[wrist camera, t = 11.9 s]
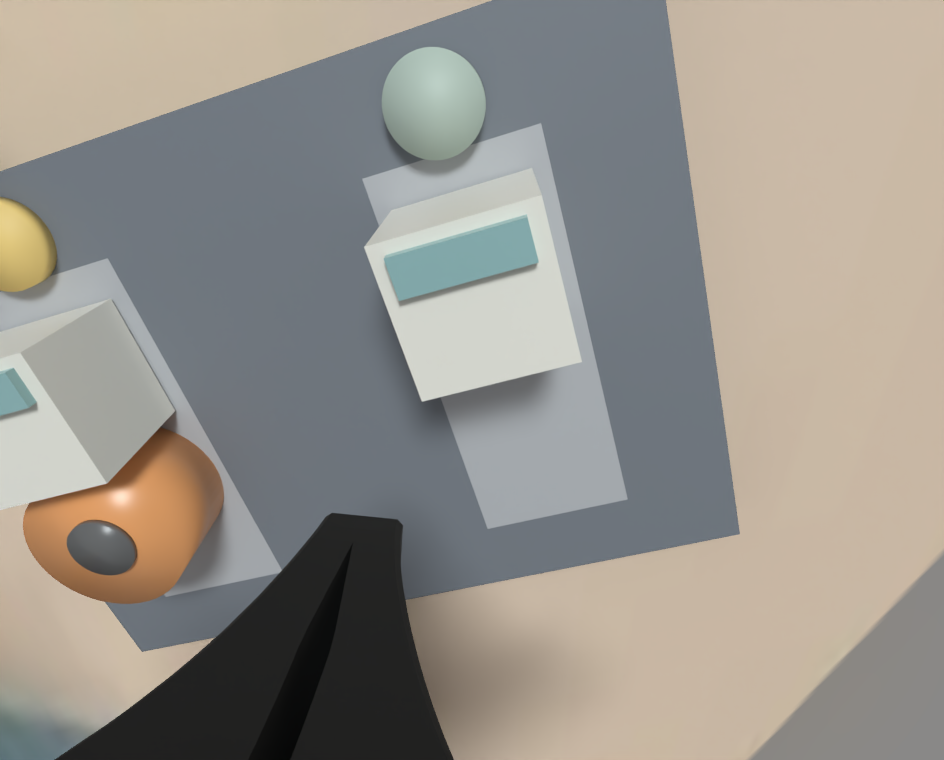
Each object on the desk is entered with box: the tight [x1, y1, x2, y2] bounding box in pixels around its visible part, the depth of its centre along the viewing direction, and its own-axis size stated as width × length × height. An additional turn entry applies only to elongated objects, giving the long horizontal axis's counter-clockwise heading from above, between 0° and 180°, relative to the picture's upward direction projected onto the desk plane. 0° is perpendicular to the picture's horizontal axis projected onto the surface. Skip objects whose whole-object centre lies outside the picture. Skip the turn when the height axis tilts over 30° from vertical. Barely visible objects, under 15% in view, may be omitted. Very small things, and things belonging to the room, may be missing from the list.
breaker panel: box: [0, 0, 740, 652], centre depth 20 cm, size 18×24×2 cm
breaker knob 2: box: [364, 168, 582, 402], centre depth 16 cm, size 4×4×4 cm
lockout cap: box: [23, 427, 224, 604], centre depth 20 cm, size 5×5×3 cm
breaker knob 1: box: [0, 299, 175, 510], centre depth 18 cm, size 4×4×4 cm
